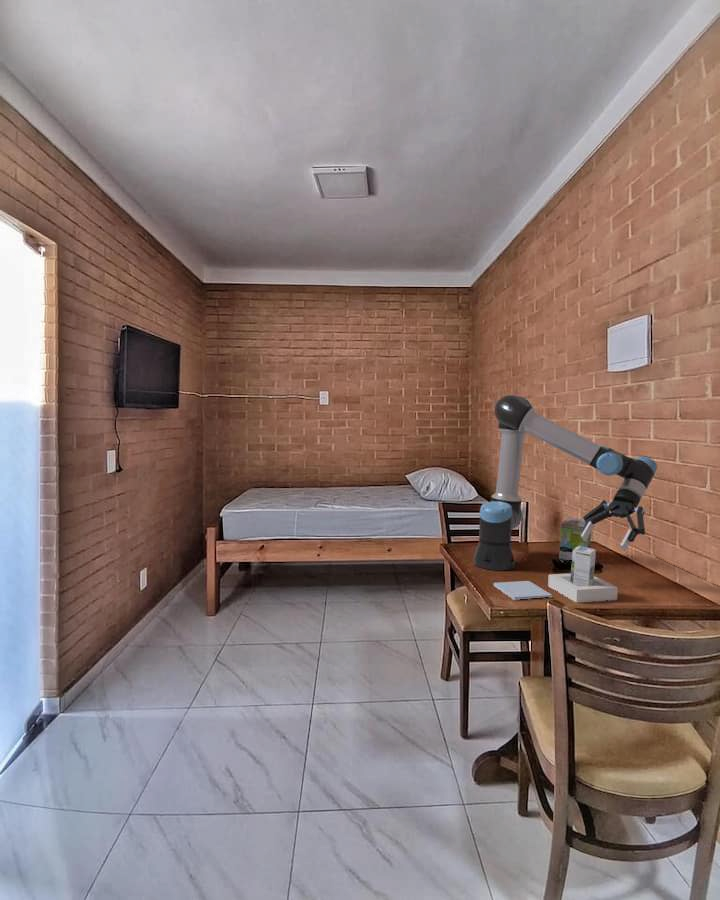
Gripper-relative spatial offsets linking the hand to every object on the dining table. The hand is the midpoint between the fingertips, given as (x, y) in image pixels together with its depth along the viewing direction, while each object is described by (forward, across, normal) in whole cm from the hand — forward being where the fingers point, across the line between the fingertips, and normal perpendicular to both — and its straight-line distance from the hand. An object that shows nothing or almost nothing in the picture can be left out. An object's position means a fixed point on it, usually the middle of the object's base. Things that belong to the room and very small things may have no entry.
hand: (602, 543), depth 160 cm
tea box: (-8, +27, -30) cm, 41 cm away
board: (+29, +11, +7) cm, 32 cm away
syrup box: (+17, +1, -5) cm, 18 cm away
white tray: (+17, +1, -4) cm, 18 cm away
